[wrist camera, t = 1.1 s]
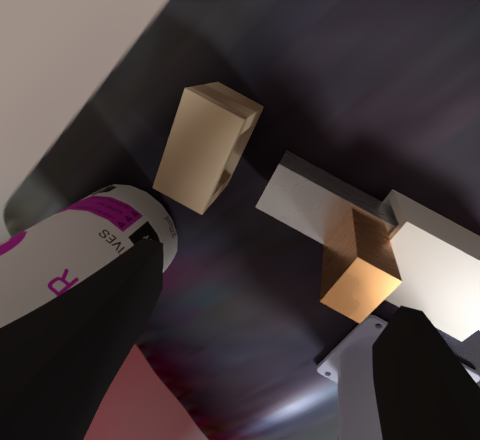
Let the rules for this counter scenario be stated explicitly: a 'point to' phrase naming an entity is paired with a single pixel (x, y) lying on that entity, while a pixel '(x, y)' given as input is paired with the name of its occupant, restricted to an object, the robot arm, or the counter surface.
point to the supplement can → (78, 246)
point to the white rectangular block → (436, 267)
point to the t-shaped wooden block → (337, 233)
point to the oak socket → (205, 144)
